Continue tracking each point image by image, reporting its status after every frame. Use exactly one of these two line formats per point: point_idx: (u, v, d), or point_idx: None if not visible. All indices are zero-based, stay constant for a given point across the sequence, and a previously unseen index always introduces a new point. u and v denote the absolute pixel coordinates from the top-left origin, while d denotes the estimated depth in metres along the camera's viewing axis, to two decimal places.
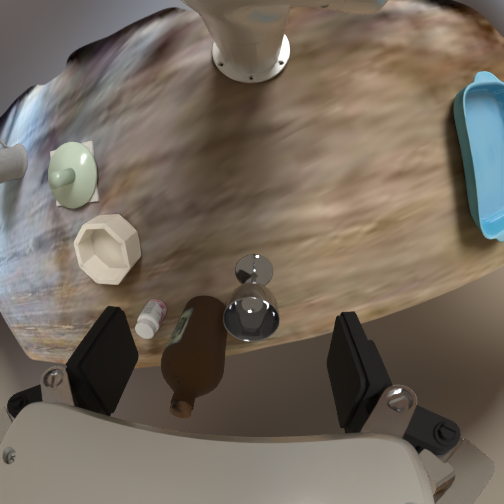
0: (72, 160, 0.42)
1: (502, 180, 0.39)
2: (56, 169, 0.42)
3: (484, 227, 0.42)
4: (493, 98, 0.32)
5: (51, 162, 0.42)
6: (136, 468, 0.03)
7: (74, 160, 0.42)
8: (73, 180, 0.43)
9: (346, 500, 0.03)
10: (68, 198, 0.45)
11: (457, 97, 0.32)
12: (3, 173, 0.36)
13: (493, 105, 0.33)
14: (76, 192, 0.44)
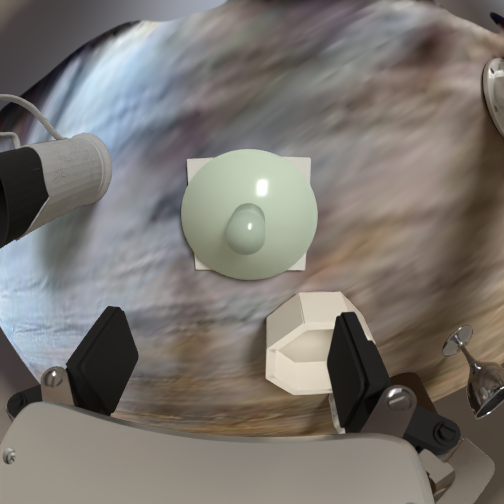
0: (260, 188, 0.25)
1: None
2: (208, 200, 0.26)
3: None
4: None
5: (194, 184, 0.25)
6: (136, 468, 0.03)
7: (266, 190, 0.25)
8: None
9: (346, 500, 0.03)
10: (236, 261, 0.28)
11: None
12: (65, 199, 0.20)
13: None
14: (261, 252, 0.28)
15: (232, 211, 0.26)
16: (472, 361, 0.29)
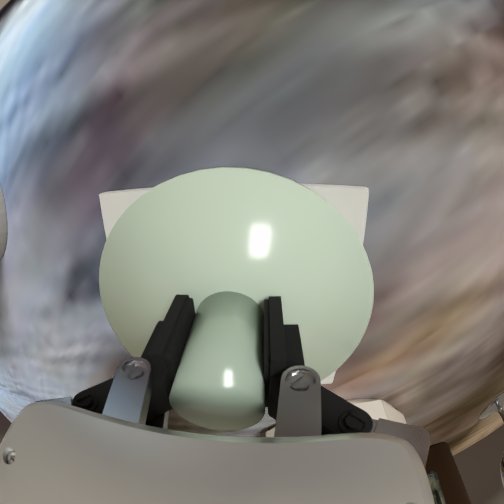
0: (255, 262, 0.11)
1: None
2: (145, 283, 0.12)
3: None
4: None
5: (113, 248, 0.11)
6: (136, 468, 0.03)
7: (267, 265, 0.11)
8: None
9: (346, 500, 0.03)
10: None
11: None
12: None
13: None
14: None
15: (195, 305, 0.12)
16: None
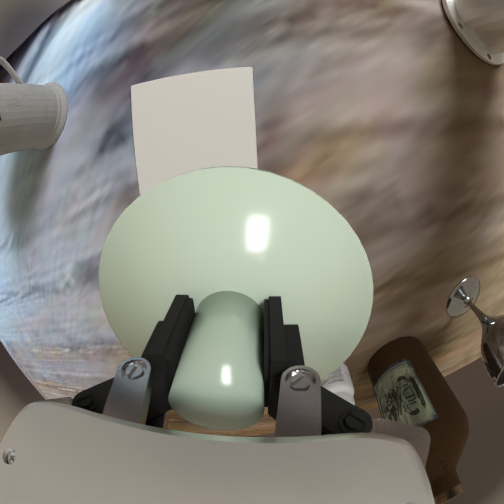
0: (254, 261, 0.11)
1: None
2: (145, 282, 0.12)
3: None
4: None
5: (113, 248, 0.11)
6: (136, 468, 0.03)
7: (267, 265, 0.11)
8: None
9: (346, 500, 0.03)
10: None
11: None
12: (16, 127, 0.16)
13: None
14: None
15: (195, 305, 0.12)
16: (484, 317, 0.25)
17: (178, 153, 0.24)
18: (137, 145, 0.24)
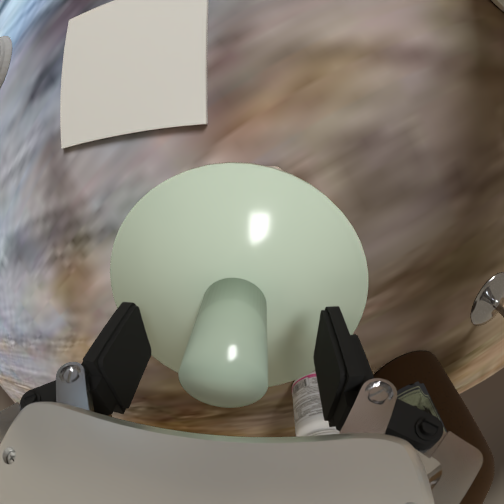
0: (258, 249, 0.12)
1: None
2: (155, 270, 0.13)
3: None
4: None
5: (125, 238, 0.12)
6: (136, 468, 0.03)
7: (269, 253, 0.12)
8: None
9: (346, 500, 0.03)
10: None
11: None
12: None
13: None
14: None
15: (202, 291, 0.13)
16: None
17: (106, 85, 0.14)
18: (64, 83, 0.14)
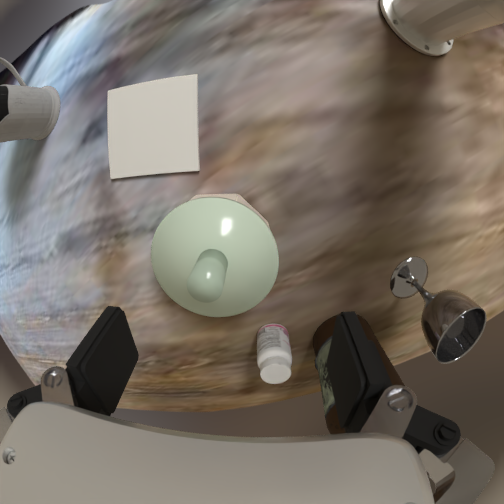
0: (222, 235, 0.27)
1: None
2: (175, 246, 0.27)
3: None
4: None
5: (161, 231, 0.27)
6: (136, 468, 0.03)
7: (227, 236, 0.27)
8: None
9: (346, 500, 0.03)
10: None
11: None
12: (20, 119, 0.20)
13: None
14: (226, 293, 0.29)
15: (197, 256, 0.28)
16: (426, 294, 0.30)
17: (139, 143, 0.29)
18: (110, 137, 0.29)
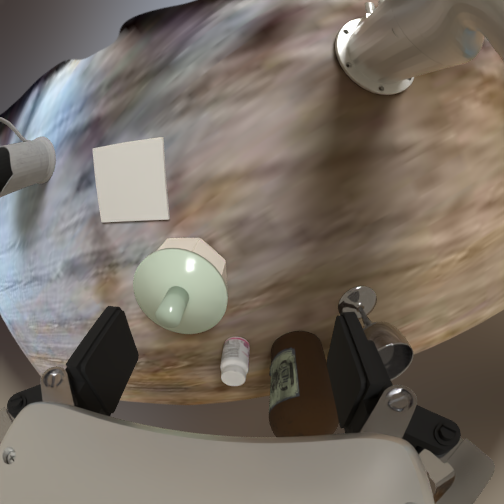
0: (183, 277, 0.35)
1: None
2: (150, 283, 0.35)
3: None
4: None
5: (139, 272, 0.35)
6: (136, 468, 0.03)
7: (187, 278, 0.35)
8: (186, 304, 0.36)
9: (346, 500, 0.03)
10: None
11: None
12: (23, 176, 0.28)
13: None
14: (190, 317, 0.37)
15: (166, 290, 0.36)
16: (365, 321, 0.38)
17: (121, 195, 0.37)
18: (98, 189, 0.36)
